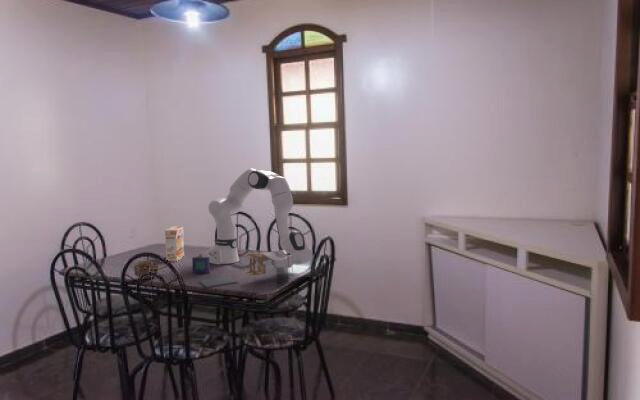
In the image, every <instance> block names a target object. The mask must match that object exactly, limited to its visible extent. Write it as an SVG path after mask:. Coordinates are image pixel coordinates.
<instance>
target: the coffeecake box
mask: <svg viewBox="0 0 640 400" xmlns="http://www.w3.org/2000/svg"><path fill="white" fill-rule="evenodd" d="M164 235H165V237H164V238H165V239H164V240H165V261H166V260H168V261H170V262H169V263H174V262H176V261H177V262H178V260H179V261H180V260H181V259H183V258H184V257H185V240H184V226H183V225H182V226H180V225H179V226H178V225H176V226H175V225H174V226H173V225H172V226H170V227H169V228H166V229H165V230H164ZM183 256H184V257H183ZM182 257H183V258H182ZM177 262H176V263H177Z"/></svg>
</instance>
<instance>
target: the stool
mask: <svg viewBox="0 0 640 400" xmlns="http://www.w3.org/2000/svg"><path fill="white" fill-rule="evenodd" d="M264 253H265V252H253V253H246V254H244V257H245V258H247V259H249V270H245V271H244V274H245V275H248V277H252V276H258V275H266V273H267V272H266V271H267V269H266V265H267V264H266V265H263V264H262V261H264V260H265V254H264ZM257 258H258V261H257V269H256V259H257Z"/></svg>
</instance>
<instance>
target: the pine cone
mask: <svg viewBox="0 0 640 400" xmlns="http://www.w3.org/2000/svg"><path fill="white" fill-rule="evenodd" d="M149 262H150V269H151V272H154V273H156V274H157V275H158V273H159V271H160V270H161V271H162V270H163V269H166V268H168V267H167V266H166V265H167V264H165V265H163V266H161V267H159V265H157V264H156V262H153V261H148V260H147V259H146V260H141V261H140V262H138V263H136V264H135V265H134V267H133V272H134V274H133V275H134V276H136V277H137V278H140V276H141V275H143V274H145V273H147V272H149ZM143 279H146V280H147V279H151V277H150V276H146V277H144V278H143ZM143 279H142V280H143Z"/></svg>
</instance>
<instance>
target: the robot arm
mask: <svg viewBox="0 0 640 400" xmlns="http://www.w3.org/2000/svg"><path fill="white" fill-rule="evenodd" d="M254 189H255V190H260V191H269V192H270V195H271V198H272V199H271V200H272V203H273V210H274V215H275V216H274V217H275V224H276V229H277V233H278V242H277V245H278V249H279V250H278V251H277V253H276V252H272V251H270V252H263V253H264V254H265V260H264V261H262V264H263V265H268V266H269V265H271V266H273V267H275V268H279V269H281V268H288V269H289V268H292V267H293V265H295V266H296V265H298V266H299V265H304V264H306V263H309V262H310V261H311V260H312V258H313V249H312V248H311V247H310V246H309V245H308V243H307V242H306V240H305V236H304V234H303V233H302V232H301V231H299V230H292V231H291V232H290V228H289V223H288V218H289V214H290V212H291V210H292V208H293V205H294V197H293V195H292V191H291V188H290V185H289V184H288V181H287V179H286V178H285V177H284V176H280V174H278V173H276V172H274V171H269V170H261V169H260V170H259V169H255V168H251V167H250V168H248V169H246V170H245V171H243V173H241V175H239V176H238V177H237V178H236V179H235V181H234V182H233V183H232V185H230V187H229V193H228V194H227V195H226V196H224V197H218V198H215V199H213V200H212V201H210V202H209V204H208V212H209V214H210V215H211V216H212V217H213V220H214V221H215V224H216V234H217V235H216V236H217V238H216V239H214V240H213V242H215V244H214V245H213V246H212V247H211V248H209V249H208V250H207V251H206V257H209V262H210V263H209V264H214V265H227V264H235V263H238V262H240V257H239V254H238V238H237V229H236V228H237V227H236V226H237V225H236V224H235V223H234V222H233V220H232V215H235V214H237V213H239V212H240V211H241V210H242V209H243V204H244V201H245V200H246V199H247V198H248V196H249V195H250V194H251V193H252V191H253V190H254ZM256 262H258V258H256Z"/></svg>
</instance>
